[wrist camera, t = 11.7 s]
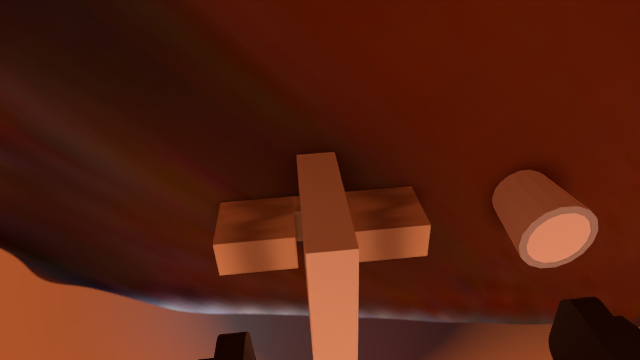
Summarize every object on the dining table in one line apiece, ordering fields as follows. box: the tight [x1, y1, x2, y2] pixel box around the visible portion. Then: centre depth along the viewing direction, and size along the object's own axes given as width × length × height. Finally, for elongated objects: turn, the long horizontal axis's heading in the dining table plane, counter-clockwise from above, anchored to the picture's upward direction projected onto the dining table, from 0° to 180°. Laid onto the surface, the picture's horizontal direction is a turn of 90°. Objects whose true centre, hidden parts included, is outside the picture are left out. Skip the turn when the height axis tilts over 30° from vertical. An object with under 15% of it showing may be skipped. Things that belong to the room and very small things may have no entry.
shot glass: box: [492, 170, 598, 268], centre depth 40 cm, size 7×7×7 cm
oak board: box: [213, 186, 431, 275], centre depth 39 cm, size 18×3×6 cm, turn 93°
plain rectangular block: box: [296, 152, 359, 360], centre depth 36 cm, size 3×12×13 cm, turn 2°
